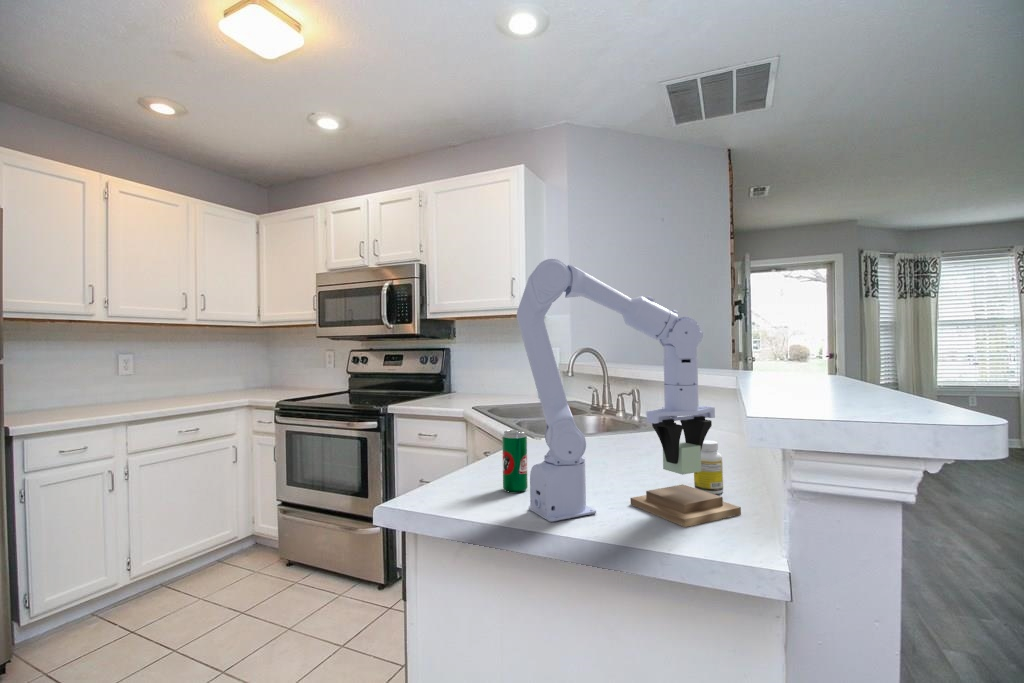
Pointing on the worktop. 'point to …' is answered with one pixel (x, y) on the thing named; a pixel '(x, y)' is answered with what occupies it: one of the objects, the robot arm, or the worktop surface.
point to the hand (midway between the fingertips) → (682, 461)
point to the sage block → (685, 459)
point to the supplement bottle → (710, 469)
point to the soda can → (514, 460)
